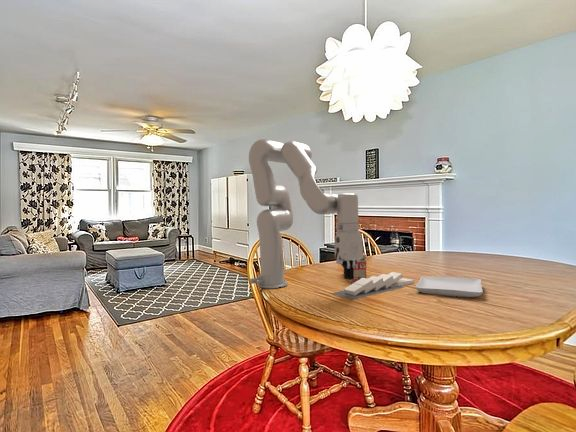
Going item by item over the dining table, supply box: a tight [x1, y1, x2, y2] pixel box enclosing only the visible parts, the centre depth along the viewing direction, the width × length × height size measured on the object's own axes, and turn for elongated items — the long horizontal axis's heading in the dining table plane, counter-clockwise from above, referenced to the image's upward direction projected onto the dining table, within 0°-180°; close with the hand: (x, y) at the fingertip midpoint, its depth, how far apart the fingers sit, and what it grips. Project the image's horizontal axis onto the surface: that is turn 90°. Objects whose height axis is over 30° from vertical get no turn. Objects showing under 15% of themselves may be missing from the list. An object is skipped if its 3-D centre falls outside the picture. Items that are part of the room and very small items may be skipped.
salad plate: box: [415, 275, 484, 298], centre depth 127 cm, size 21×21×3 cm
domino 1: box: [343, 277, 373, 296], centre depth 127 cm, size 2×5×10 cm
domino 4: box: [382, 271, 404, 289], centre depth 136 cm, size 2×5×10 cm
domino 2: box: [361, 275, 384, 293], centre depth 130 cm, size 2×5×10 cm
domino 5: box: [392, 277, 415, 287], centre depth 138 cm, size 2×5×10 cm
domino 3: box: [372, 273, 393, 291], centre depth 133 cm, size 2×5×10 cm
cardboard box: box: [349, 252, 367, 284], centre depth 153 cm, size 21×6×12 cm, turn 0°
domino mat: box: [330, 285, 405, 301], centre depth 130 cm, size 28×11×1 cm, turn 124°
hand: (349, 278), depth 124 cm, fingers closed
